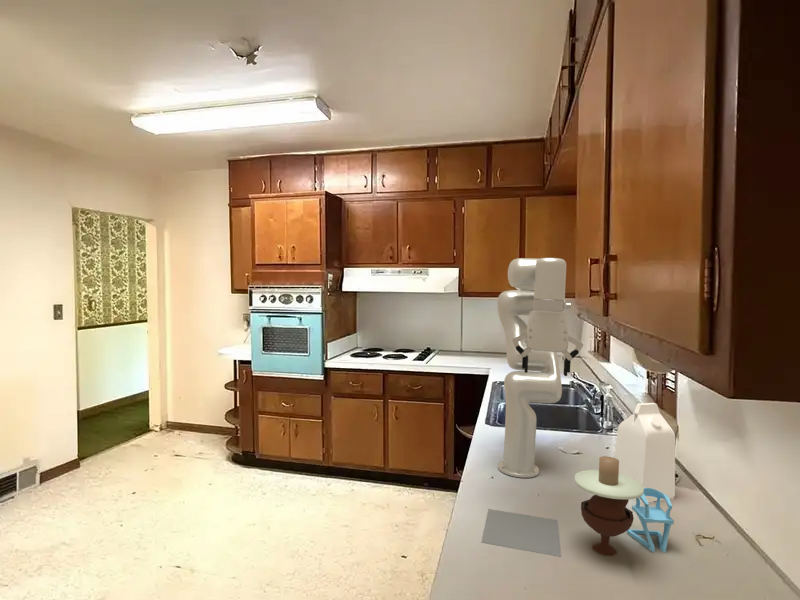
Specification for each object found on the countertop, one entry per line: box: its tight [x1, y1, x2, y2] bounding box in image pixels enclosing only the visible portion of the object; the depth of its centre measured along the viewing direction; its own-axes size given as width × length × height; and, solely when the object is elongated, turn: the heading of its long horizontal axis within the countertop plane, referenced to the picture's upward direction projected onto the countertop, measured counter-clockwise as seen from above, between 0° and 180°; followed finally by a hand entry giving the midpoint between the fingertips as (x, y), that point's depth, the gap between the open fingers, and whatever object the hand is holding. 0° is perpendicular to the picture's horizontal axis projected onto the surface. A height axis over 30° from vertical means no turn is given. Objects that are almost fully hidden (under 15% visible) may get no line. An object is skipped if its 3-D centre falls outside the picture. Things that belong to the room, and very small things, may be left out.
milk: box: [613, 402, 676, 505], centre depth 139 cm, size 12×12×26 cm
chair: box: [626, 488, 675, 554], centre depth 112 cm, size 8×8×12 cm
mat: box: [480, 508, 562, 558], centre depth 114 cm, size 17×17×1 cm
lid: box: [574, 455, 644, 500], centre depth 107 cm, size 14×14×6 cm
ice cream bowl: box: [580, 494, 635, 557], centre depth 107 cm, size 11×11×15 cm
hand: (545, 373), depth 123 cm, fingers open, 9 cm apart
